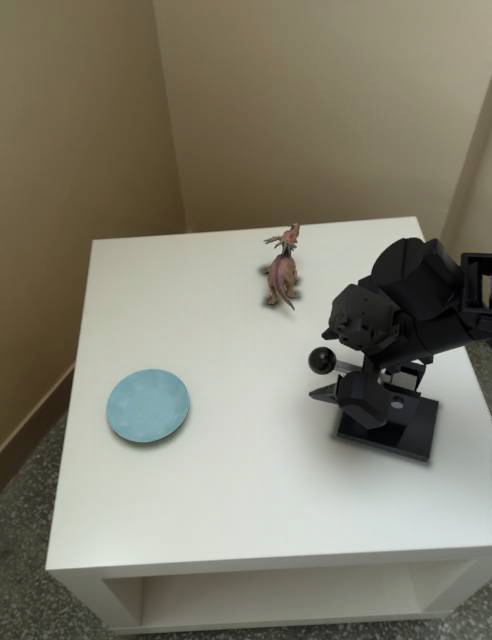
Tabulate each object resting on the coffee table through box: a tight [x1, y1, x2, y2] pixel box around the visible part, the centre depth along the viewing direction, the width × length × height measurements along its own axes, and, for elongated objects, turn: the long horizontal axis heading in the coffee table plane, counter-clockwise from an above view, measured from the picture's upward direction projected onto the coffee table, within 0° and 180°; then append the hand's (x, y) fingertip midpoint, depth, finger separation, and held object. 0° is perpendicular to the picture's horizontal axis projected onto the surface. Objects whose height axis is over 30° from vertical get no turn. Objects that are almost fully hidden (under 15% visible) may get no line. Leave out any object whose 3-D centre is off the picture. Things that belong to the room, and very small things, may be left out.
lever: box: [307, 346, 417, 391], centre depth 66 cm, size 13×4×4 cm, turn 70°
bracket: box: [335, 361, 440, 463], centre depth 68 cm, size 12×9×11 cm
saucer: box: [105, 368, 190, 443], centre depth 75 cm, size 12×12×2 cm
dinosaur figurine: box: [262, 222, 301, 312], centre depth 84 cm, size 14×6×9 cm, turn 176°
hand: (317, 365), depth 68 cm, fingers open, 9 cm apart
